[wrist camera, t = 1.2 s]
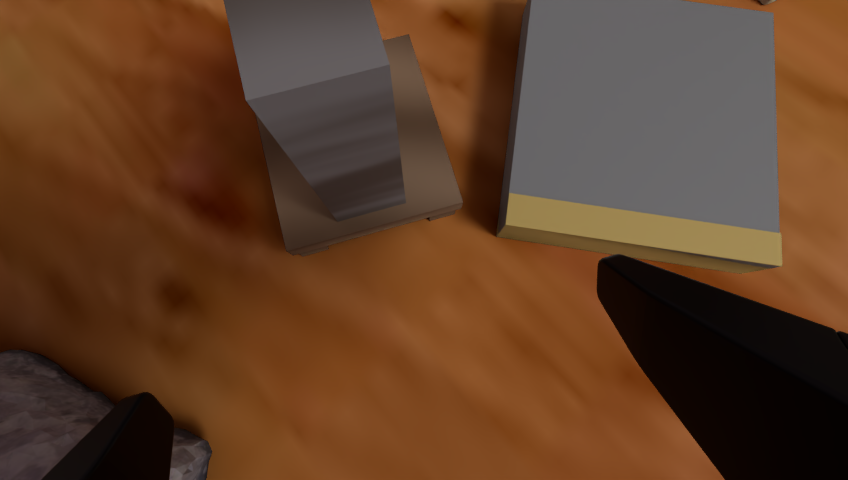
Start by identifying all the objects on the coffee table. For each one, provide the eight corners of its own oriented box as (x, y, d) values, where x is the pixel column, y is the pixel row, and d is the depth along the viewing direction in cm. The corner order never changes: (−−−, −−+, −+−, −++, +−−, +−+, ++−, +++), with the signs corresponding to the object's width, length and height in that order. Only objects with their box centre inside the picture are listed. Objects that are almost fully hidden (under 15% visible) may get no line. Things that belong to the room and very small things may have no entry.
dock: (740, 273, 22) (782, 266, 20) (496, 236, 22) (505, 224, 20) (738, 44, 25) (774, 11, 23) (522, 14, 25) (534, -21, 23)
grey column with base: (459, 212, 23) (508, 63, 10) (297, 258, 22) (132, 159, 10) (409, 56, 25) (397, -232, 12) (259, 94, 24) (82, -167, 12)
